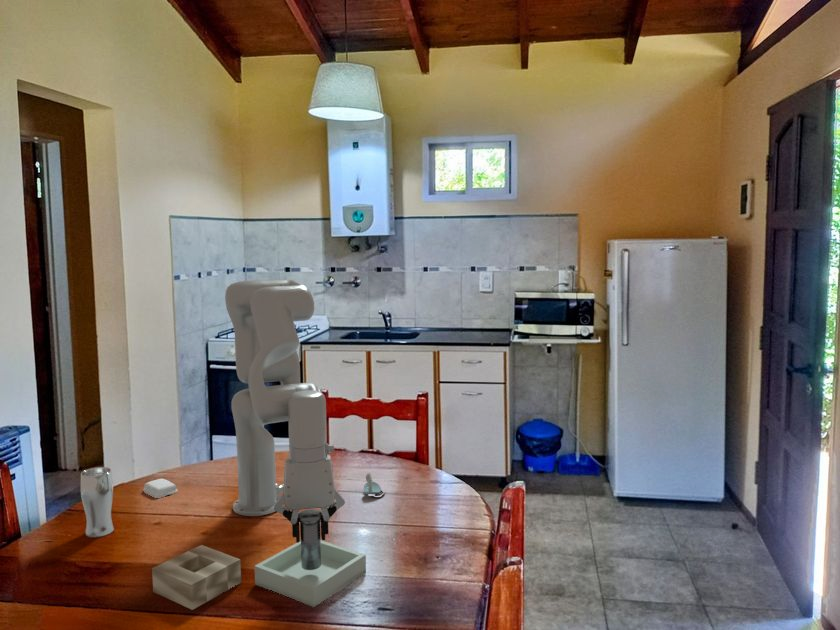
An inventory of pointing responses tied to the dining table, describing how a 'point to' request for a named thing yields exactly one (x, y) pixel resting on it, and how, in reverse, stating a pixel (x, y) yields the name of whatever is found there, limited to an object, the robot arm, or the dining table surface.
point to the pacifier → (371, 486)
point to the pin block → (196, 576)
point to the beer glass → (97, 500)
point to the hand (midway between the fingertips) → (310, 537)
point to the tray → (310, 573)
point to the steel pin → (310, 538)
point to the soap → (159, 488)
